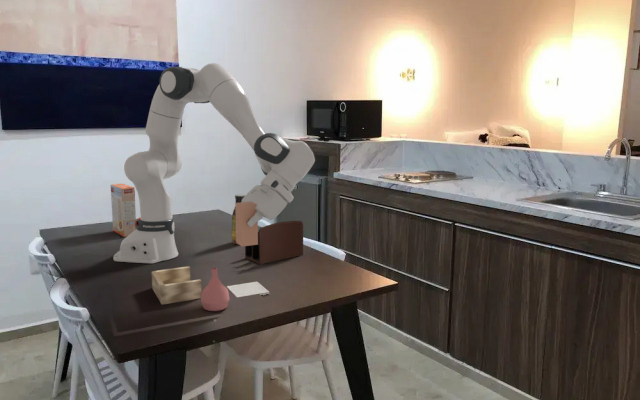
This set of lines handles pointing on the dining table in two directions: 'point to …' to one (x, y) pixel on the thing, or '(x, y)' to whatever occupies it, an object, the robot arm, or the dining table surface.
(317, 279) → the dining table surface
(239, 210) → the block
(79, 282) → the dining table surface
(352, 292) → the dining table surface
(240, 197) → the sauce bottle
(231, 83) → the robot arm
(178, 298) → the crate
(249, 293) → the coaster
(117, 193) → the cracker box
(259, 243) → the letter holder
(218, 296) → the pink vase
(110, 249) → the dining table surface
